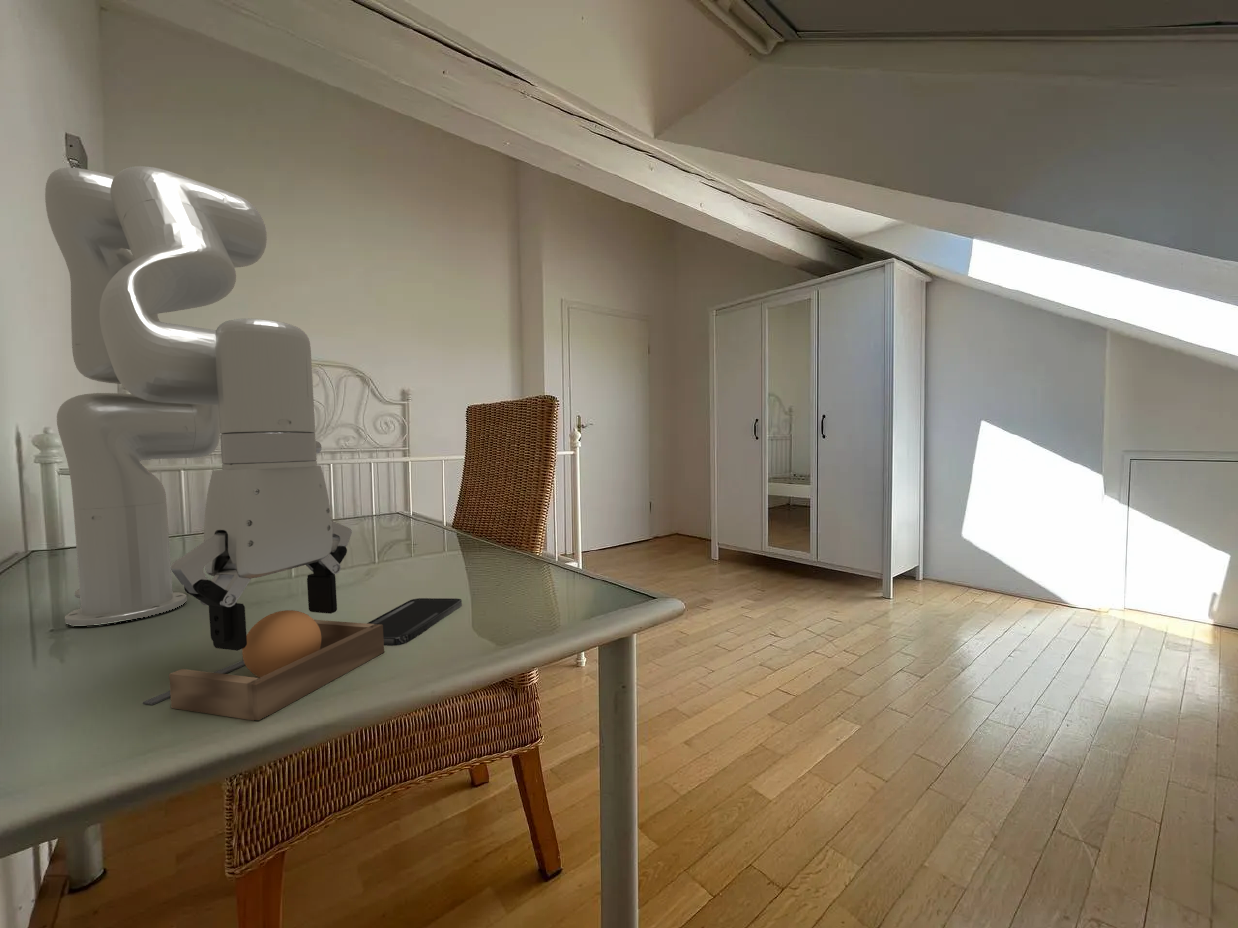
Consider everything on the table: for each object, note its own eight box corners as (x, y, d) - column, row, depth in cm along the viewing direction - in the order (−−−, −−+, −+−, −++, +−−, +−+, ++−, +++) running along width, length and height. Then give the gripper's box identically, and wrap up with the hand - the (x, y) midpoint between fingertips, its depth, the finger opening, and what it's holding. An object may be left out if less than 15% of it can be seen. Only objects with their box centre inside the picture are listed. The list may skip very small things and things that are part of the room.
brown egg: (227, 689, 47) (222, 621, 47) (289, 659, 53) (285, 599, 53) (280, 696, 45) (275, 626, 45) (338, 665, 51) (334, 603, 51)
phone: (339, 637, 57) (413, 597, 72) (340, 647, 57) (414, 605, 72) (403, 639, 56) (465, 598, 71) (404, 649, 56) (465, 606, 71)
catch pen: (171, 707, 44) (169, 673, 44) (311, 645, 57) (309, 619, 57) (258, 720, 41) (256, 684, 41) (384, 652, 54) (382, 624, 54)
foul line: (142, 703, 45) (142, 701, 45) (286, 643, 58) (286, 641, 58) (152, 705, 44) (152, 703, 44) (294, 643, 58) (294, 642, 58)
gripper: (317, 452, 58) (325, 599, 58) (136, 456, 41) (150, 662, 42) (370, 450, 56) (378, 603, 56) (202, 454, 39) (216, 671, 40)
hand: (280, 628), depth 49 cm, fingers open, 9 cm apart
